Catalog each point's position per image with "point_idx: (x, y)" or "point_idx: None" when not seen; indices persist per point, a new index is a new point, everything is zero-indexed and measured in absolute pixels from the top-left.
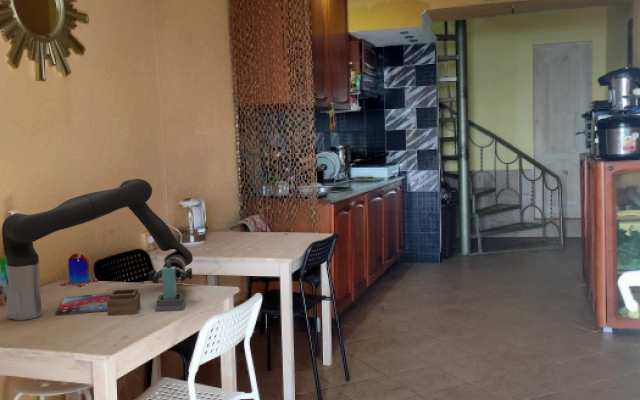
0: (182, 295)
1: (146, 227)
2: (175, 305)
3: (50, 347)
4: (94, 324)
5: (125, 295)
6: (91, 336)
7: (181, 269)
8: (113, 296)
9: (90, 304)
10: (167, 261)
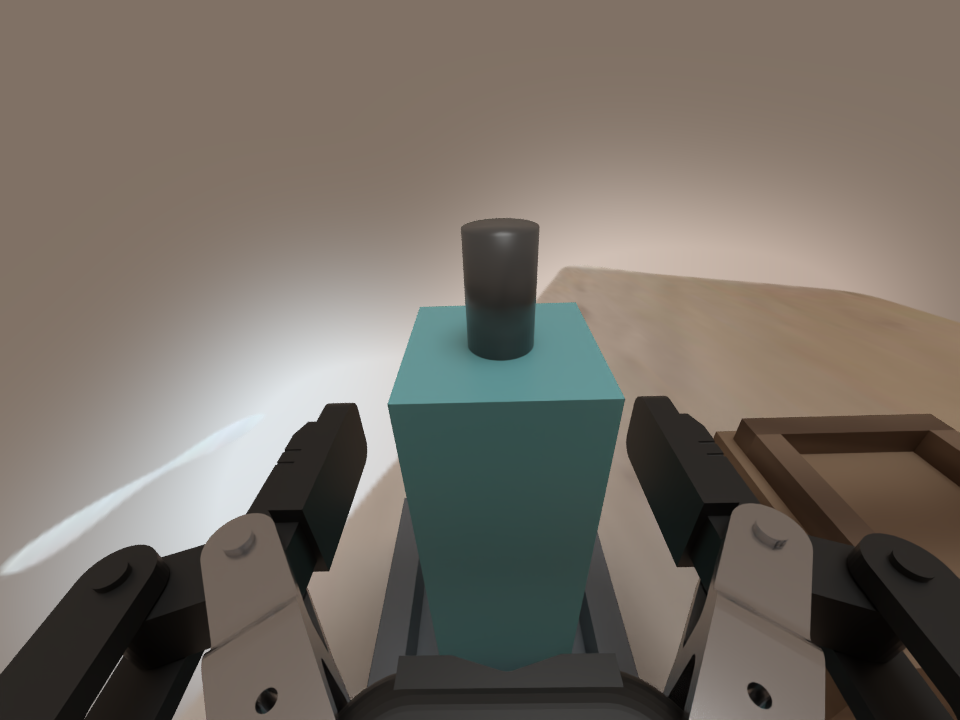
0: (378, 642)
1: None
2: None
3: (729, 285)
4: (779, 389)
5: (805, 417)
6: (682, 318)
7: (228, 671)
8: (893, 419)
9: None
10: (511, 221)
